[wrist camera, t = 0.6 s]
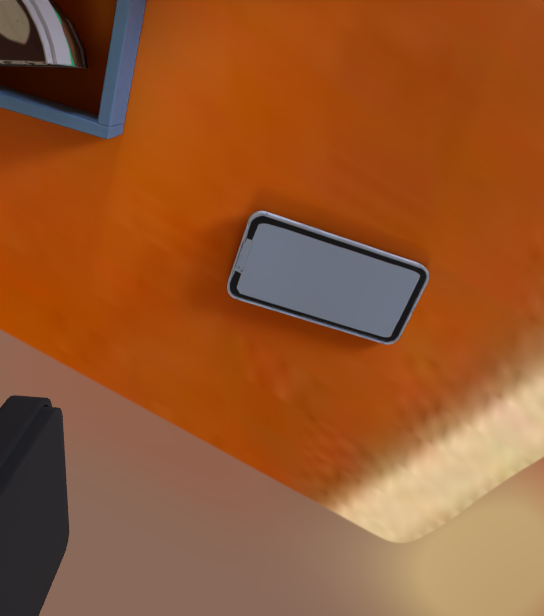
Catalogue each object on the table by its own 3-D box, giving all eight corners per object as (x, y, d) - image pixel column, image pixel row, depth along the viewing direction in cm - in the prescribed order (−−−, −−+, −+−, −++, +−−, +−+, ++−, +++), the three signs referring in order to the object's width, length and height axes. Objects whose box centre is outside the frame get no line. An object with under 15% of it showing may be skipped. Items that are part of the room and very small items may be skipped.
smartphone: (394, 347, 44) (223, 295, 41) (391, 342, 45) (223, 291, 42) (434, 269, 41) (253, 208, 38) (430, 265, 42) (252, 205, 39)
